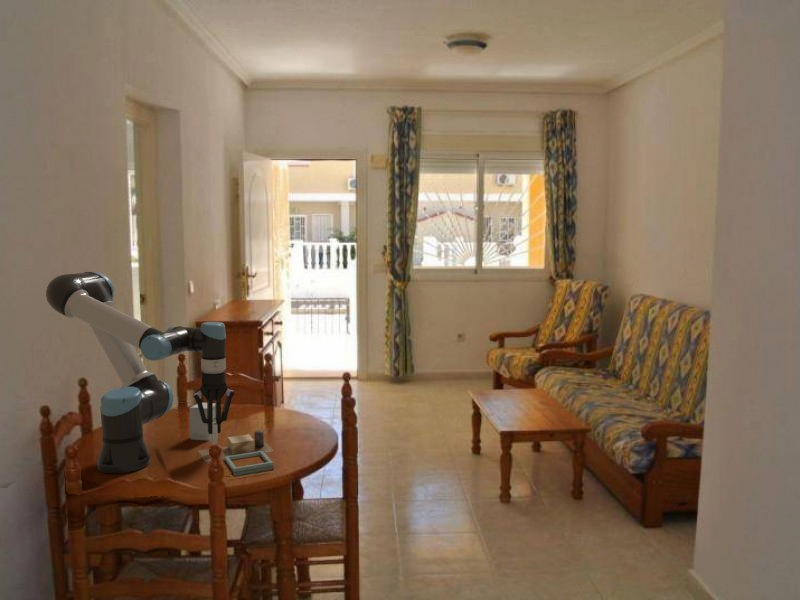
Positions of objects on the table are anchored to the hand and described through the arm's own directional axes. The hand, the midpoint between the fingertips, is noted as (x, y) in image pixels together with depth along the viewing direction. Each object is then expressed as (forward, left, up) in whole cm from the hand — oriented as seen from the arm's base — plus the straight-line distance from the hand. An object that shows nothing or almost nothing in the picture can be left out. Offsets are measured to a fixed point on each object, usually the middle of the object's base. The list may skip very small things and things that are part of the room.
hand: (214, 443), depth 214 cm
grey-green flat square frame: (+7, -14, -5) cm, 16 cm away
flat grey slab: (+6, -1, -5) cm, 8 cm away
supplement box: (0, +19, -5) cm, 19 cm away
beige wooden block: (+8, 0, -3) cm, 9 cm away
